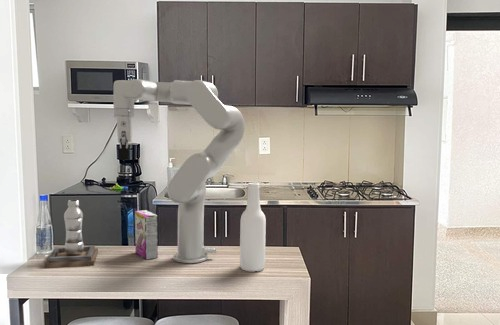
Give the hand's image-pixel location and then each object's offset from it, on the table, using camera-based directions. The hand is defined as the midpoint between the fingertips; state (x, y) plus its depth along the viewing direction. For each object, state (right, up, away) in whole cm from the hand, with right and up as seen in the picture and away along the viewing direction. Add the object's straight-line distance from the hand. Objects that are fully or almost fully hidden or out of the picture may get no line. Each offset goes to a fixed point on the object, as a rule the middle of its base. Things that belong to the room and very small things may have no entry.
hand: (124, 158), depth 175 cm
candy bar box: (+9, -37, -2) cm, 38 cm away
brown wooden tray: (-16, -37, -9) cm, 41 cm away
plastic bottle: (-16, -36, -8) cm, 40 cm away
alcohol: (+49, -39, -15) cm, 64 cm away
